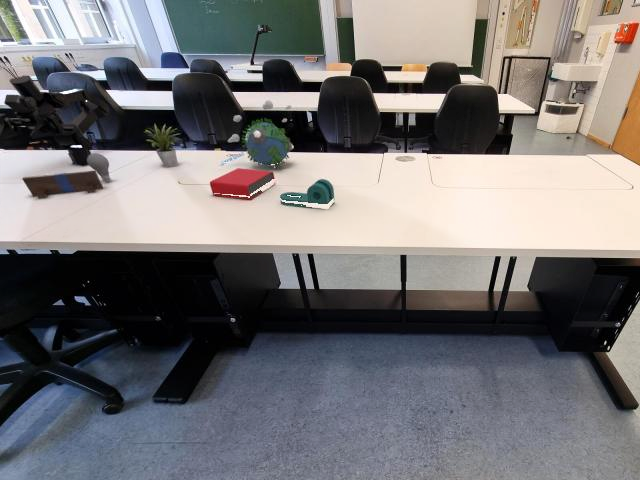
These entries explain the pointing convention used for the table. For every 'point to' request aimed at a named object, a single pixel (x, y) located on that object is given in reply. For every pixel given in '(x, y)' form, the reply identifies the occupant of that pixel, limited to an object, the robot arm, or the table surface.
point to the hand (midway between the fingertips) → (16, 137)
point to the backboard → (63, 183)
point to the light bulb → (99, 165)
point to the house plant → (164, 146)
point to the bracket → (311, 194)
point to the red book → (241, 183)
